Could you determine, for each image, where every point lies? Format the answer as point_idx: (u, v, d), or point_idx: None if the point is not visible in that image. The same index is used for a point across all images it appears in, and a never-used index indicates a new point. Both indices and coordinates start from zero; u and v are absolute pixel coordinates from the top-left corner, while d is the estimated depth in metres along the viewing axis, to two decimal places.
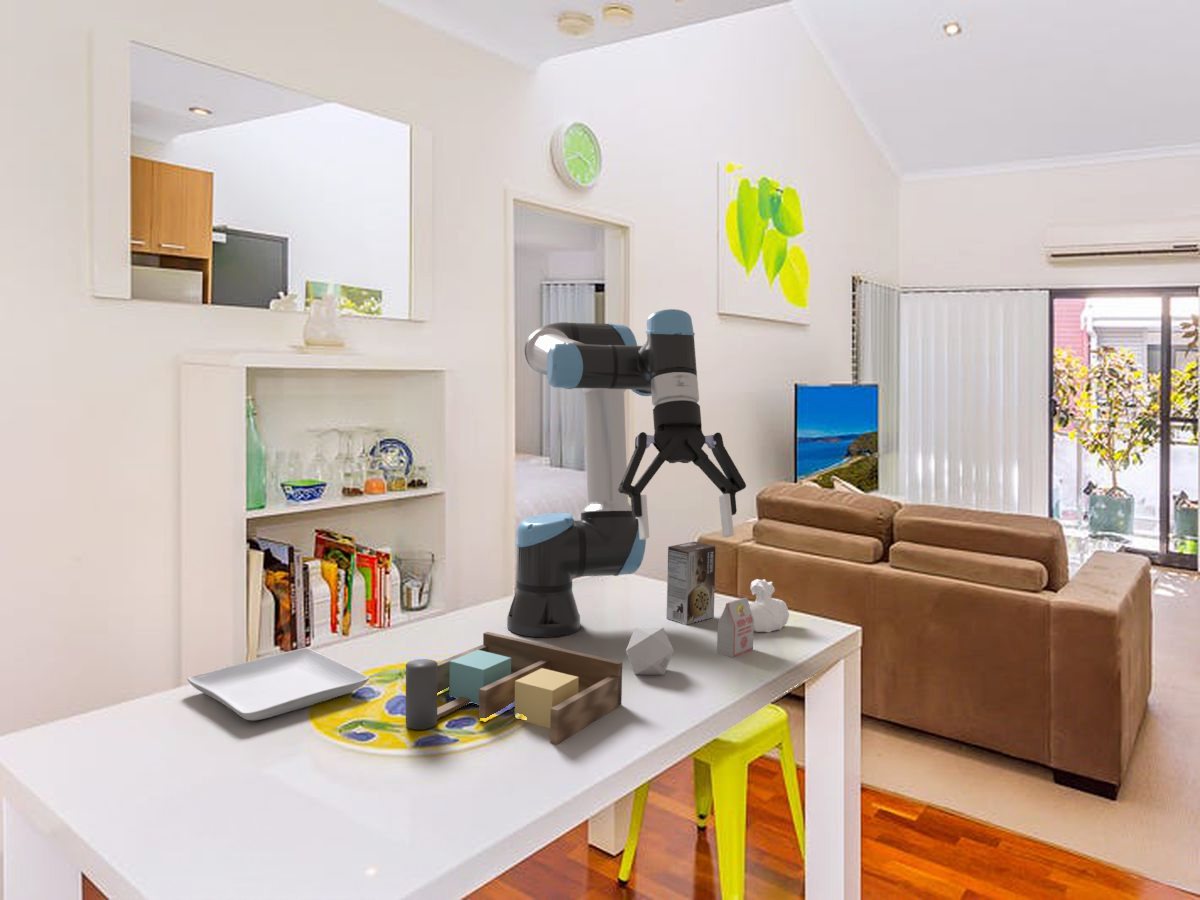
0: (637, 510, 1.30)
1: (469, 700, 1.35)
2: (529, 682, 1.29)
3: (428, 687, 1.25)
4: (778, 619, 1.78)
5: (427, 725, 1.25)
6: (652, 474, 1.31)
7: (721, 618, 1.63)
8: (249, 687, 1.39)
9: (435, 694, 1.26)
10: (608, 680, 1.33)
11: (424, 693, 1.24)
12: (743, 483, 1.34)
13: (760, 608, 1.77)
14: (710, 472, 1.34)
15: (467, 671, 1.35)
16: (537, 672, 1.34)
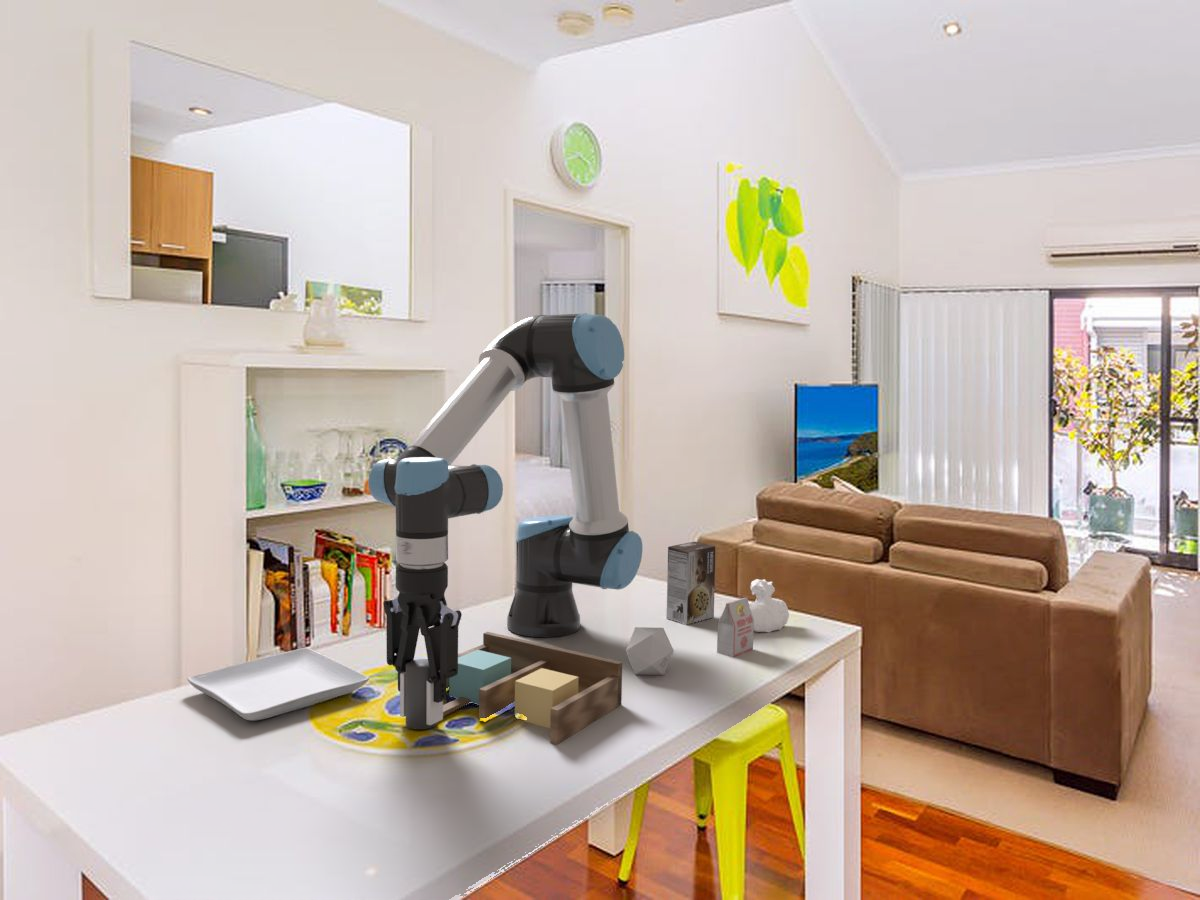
0: (400, 686, 1.28)
1: (469, 700, 1.35)
2: (529, 682, 1.29)
3: None
4: (778, 619, 1.78)
5: (427, 725, 1.25)
6: (403, 647, 1.26)
7: (721, 618, 1.63)
8: (249, 687, 1.39)
9: None
10: (608, 680, 1.33)
11: (424, 693, 1.24)
12: (444, 675, 1.22)
13: (760, 608, 1.77)
14: None
15: (467, 671, 1.35)
16: (537, 672, 1.34)
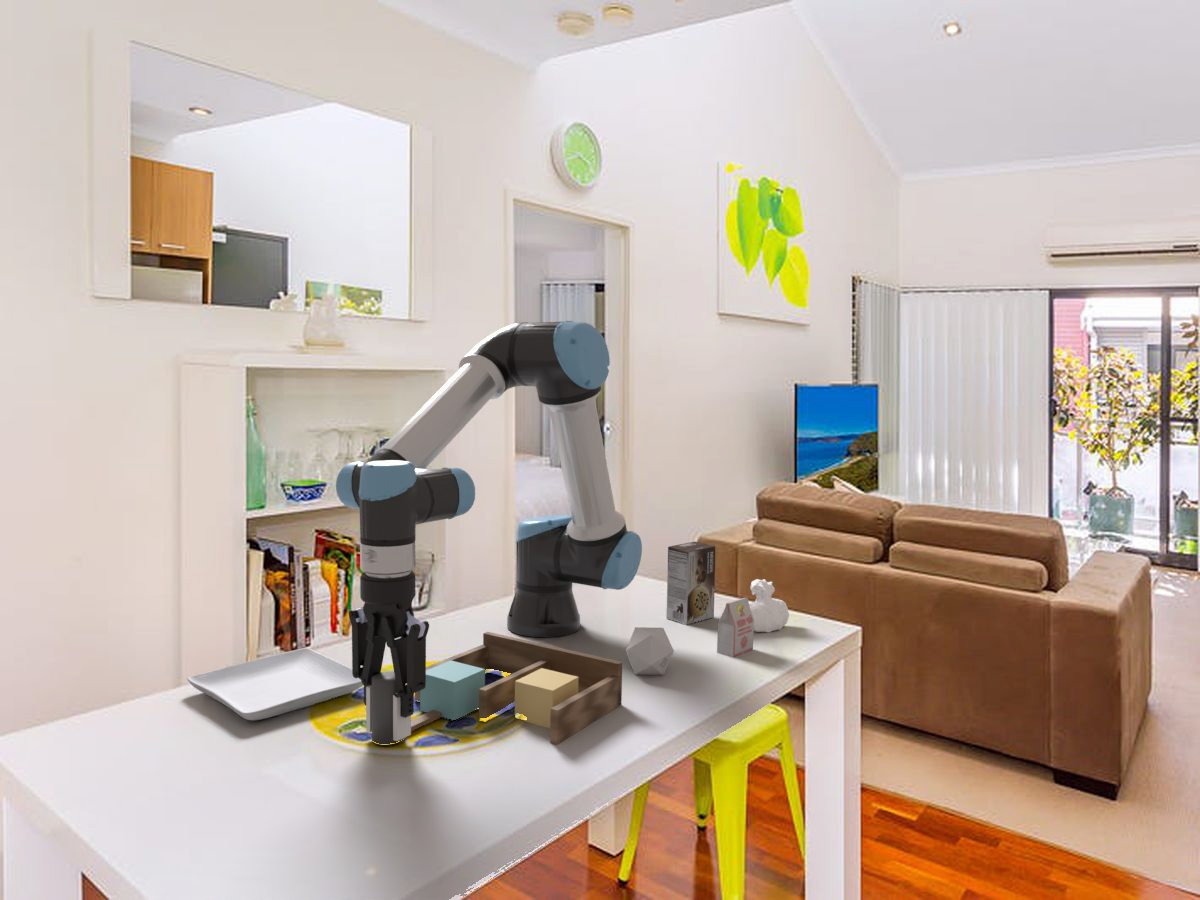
0: None
1: (440, 714, 1.29)
2: (529, 682, 1.29)
3: None
4: (778, 619, 1.78)
5: (394, 741, 1.20)
6: (369, 659, 1.21)
7: (721, 618, 1.63)
8: (249, 687, 1.39)
9: None
10: (608, 680, 1.33)
11: (390, 708, 1.19)
12: (411, 689, 1.17)
13: (760, 608, 1.77)
14: None
15: (438, 684, 1.29)
16: (537, 672, 1.34)
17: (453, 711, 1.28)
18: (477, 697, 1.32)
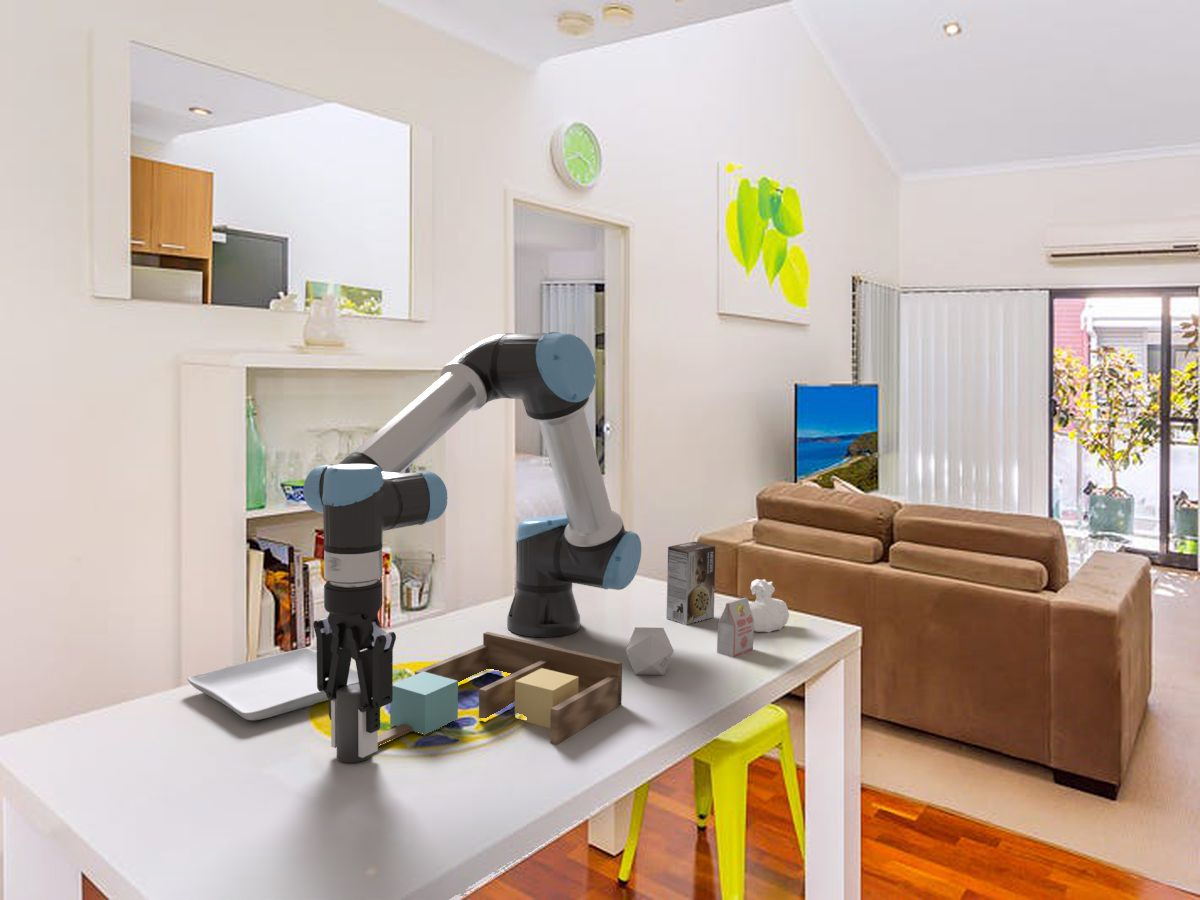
0: None
1: (410, 728, 1.24)
2: (529, 682, 1.29)
3: None
4: (778, 619, 1.78)
5: (359, 757, 1.14)
6: (334, 671, 1.15)
7: (721, 618, 1.63)
8: (249, 687, 1.39)
9: None
10: (608, 680, 1.33)
11: (355, 723, 1.14)
12: (376, 703, 1.11)
13: (760, 608, 1.77)
14: None
15: (408, 696, 1.24)
16: (537, 672, 1.34)
17: (424, 725, 1.23)
18: (450, 710, 1.27)
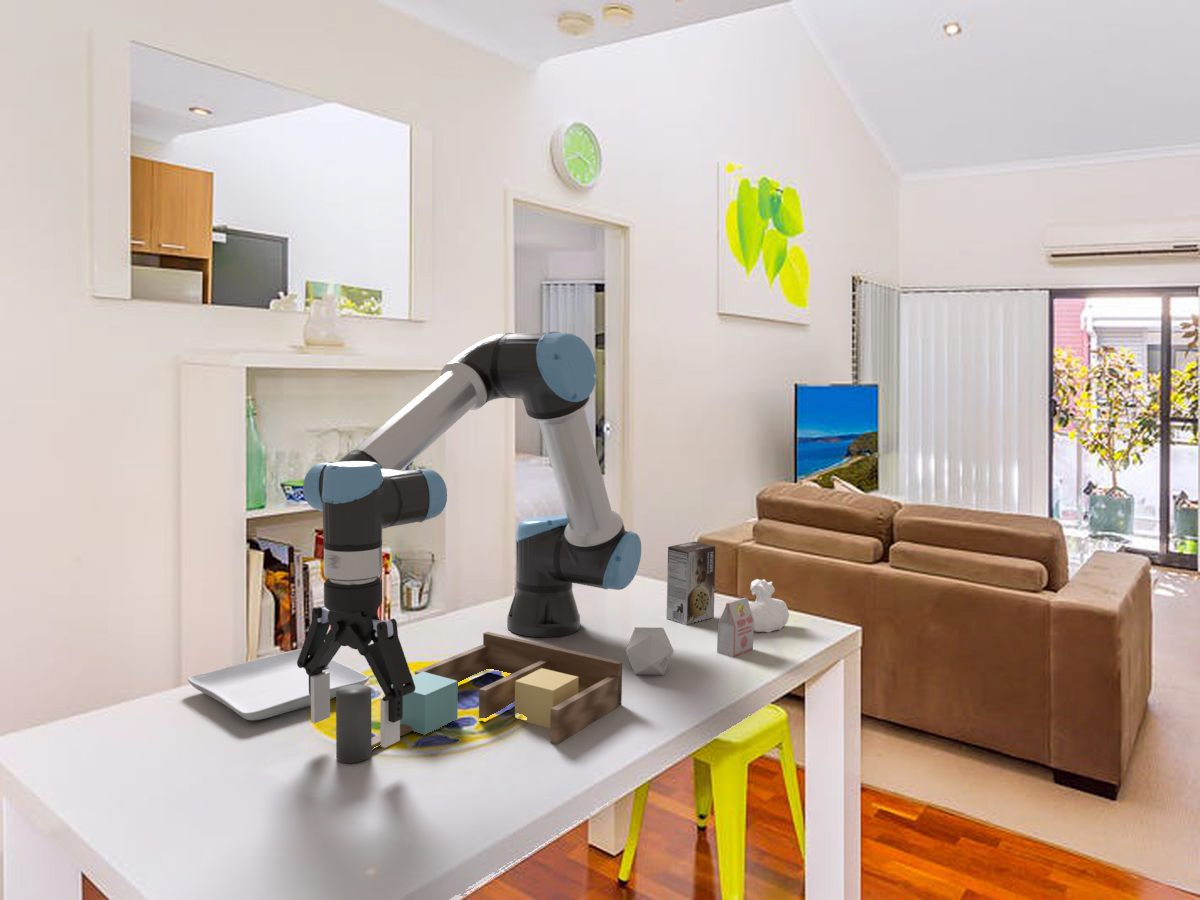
0: (311, 690, 1.19)
1: (410, 728, 1.24)
2: (529, 682, 1.29)
3: (359, 716, 1.14)
4: (778, 619, 1.78)
5: (359, 758, 1.14)
6: (320, 656, 1.17)
7: (721, 618, 1.63)
8: (249, 687, 1.39)
9: (368, 723, 1.15)
10: (608, 680, 1.33)
11: (355, 723, 1.14)
12: (399, 691, 1.09)
13: (760, 608, 1.77)
14: None
15: (408, 697, 1.24)
16: (537, 672, 1.34)
17: (424, 725, 1.23)
18: (449, 710, 1.27)
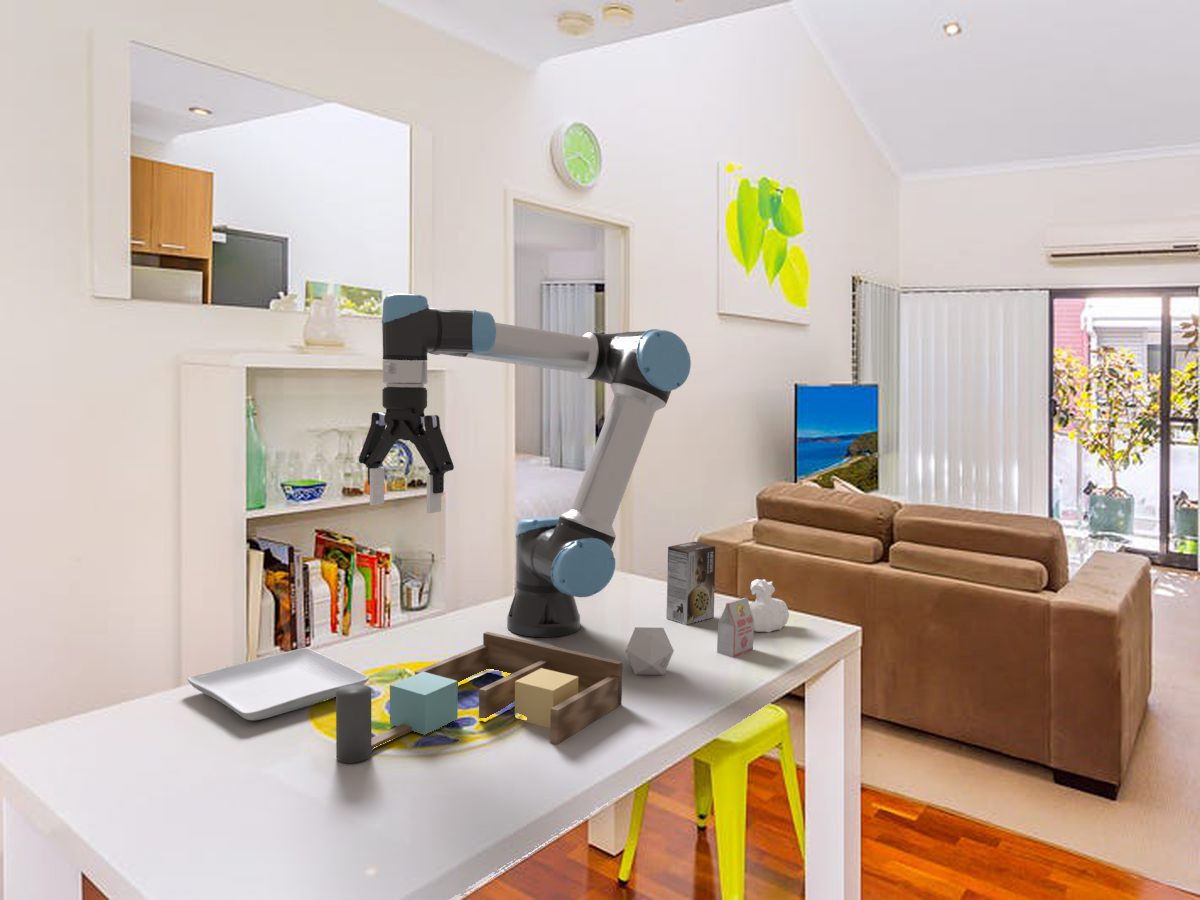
0: (369, 480, 1.52)
1: (410, 728, 1.24)
2: (529, 682, 1.29)
3: (359, 716, 1.14)
4: (778, 619, 1.78)
5: (359, 758, 1.14)
6: (378, 451, 1.49)
7: (721, 618, 1.63)
8: (249, 687, 1.39)
9: (368, 723, 1.15)
10: (608, 680, 1.33)
11: (355, 723, 1.14)
12: (441, 466, 1.42)
13: (760, 608, 1.77)
14: None
15: (408, 697, 1.24)
16: (537, 672, 1.34)
17: (424, 725, 1.23)
18: (449, 710, 1.27)
